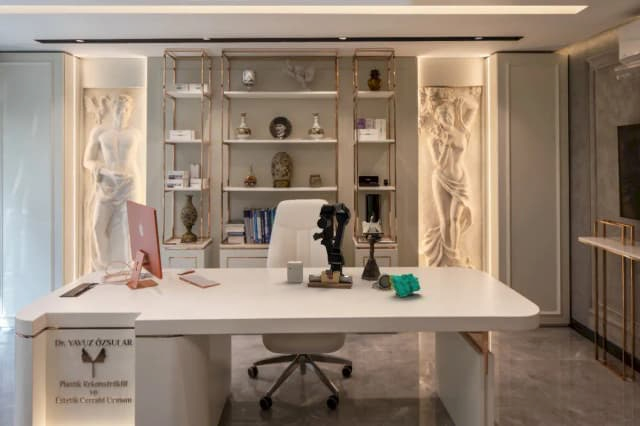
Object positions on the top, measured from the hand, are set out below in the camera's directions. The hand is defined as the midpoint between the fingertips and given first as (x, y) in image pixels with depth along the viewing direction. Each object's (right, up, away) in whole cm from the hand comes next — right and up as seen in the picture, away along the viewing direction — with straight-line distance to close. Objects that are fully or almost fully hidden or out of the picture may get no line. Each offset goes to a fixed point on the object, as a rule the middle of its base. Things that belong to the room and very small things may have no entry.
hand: (328, 256), depth 265 cm
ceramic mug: (+27, -15, -18) cm, 35 cm away
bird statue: (+25, -13, +3) cm, 28 cm away
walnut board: (+1, -14, -13) cm, 19 cm away
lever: (+1, -10, -13) cm, 16 cm away
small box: (-18, -14, -3) cm, 23 cm away
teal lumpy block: (+36, -16, -34) cm, 52 cm away
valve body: (+1, -12, -13) cm, 18 cm away
